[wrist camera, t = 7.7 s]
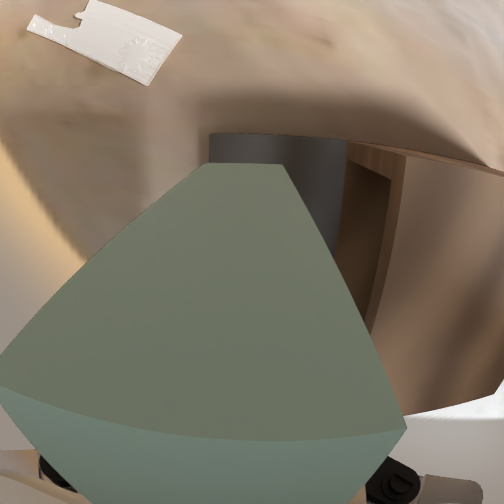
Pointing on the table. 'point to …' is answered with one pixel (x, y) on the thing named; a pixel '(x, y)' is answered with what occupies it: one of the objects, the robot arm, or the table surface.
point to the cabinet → (406, 255)
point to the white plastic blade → (114, 39)
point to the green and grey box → (206, 357)
